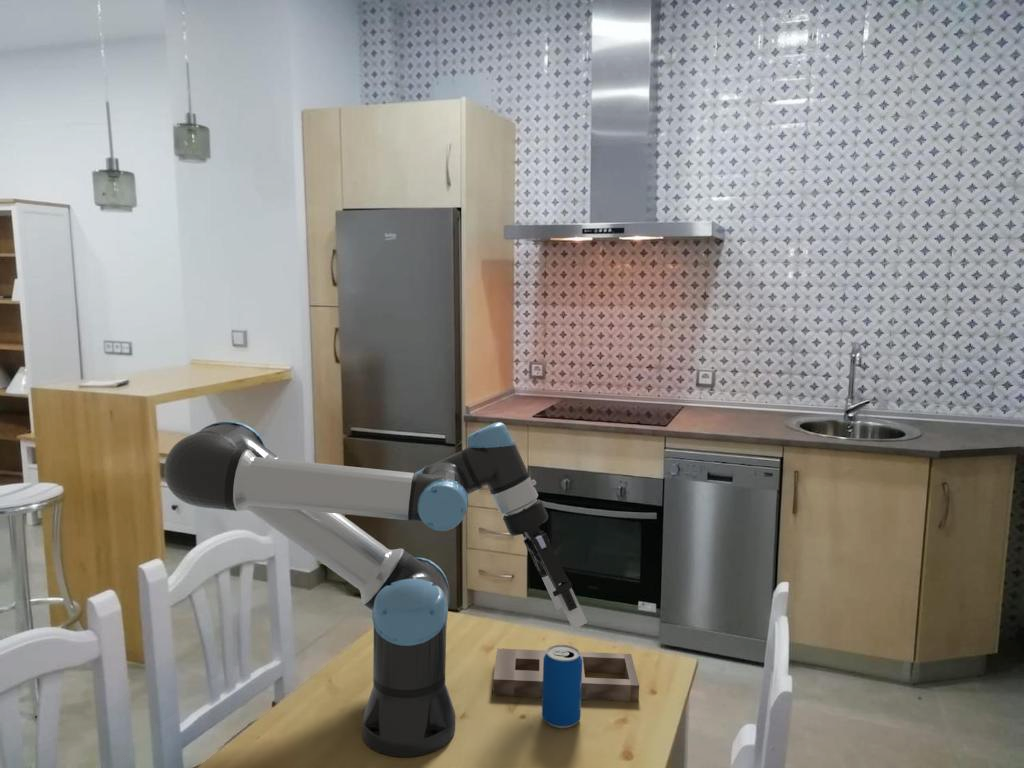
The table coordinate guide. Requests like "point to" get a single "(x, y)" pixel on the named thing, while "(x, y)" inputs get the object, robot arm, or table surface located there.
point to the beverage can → (562, 686)
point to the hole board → (525, 675)
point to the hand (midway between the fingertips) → (571, 615)
